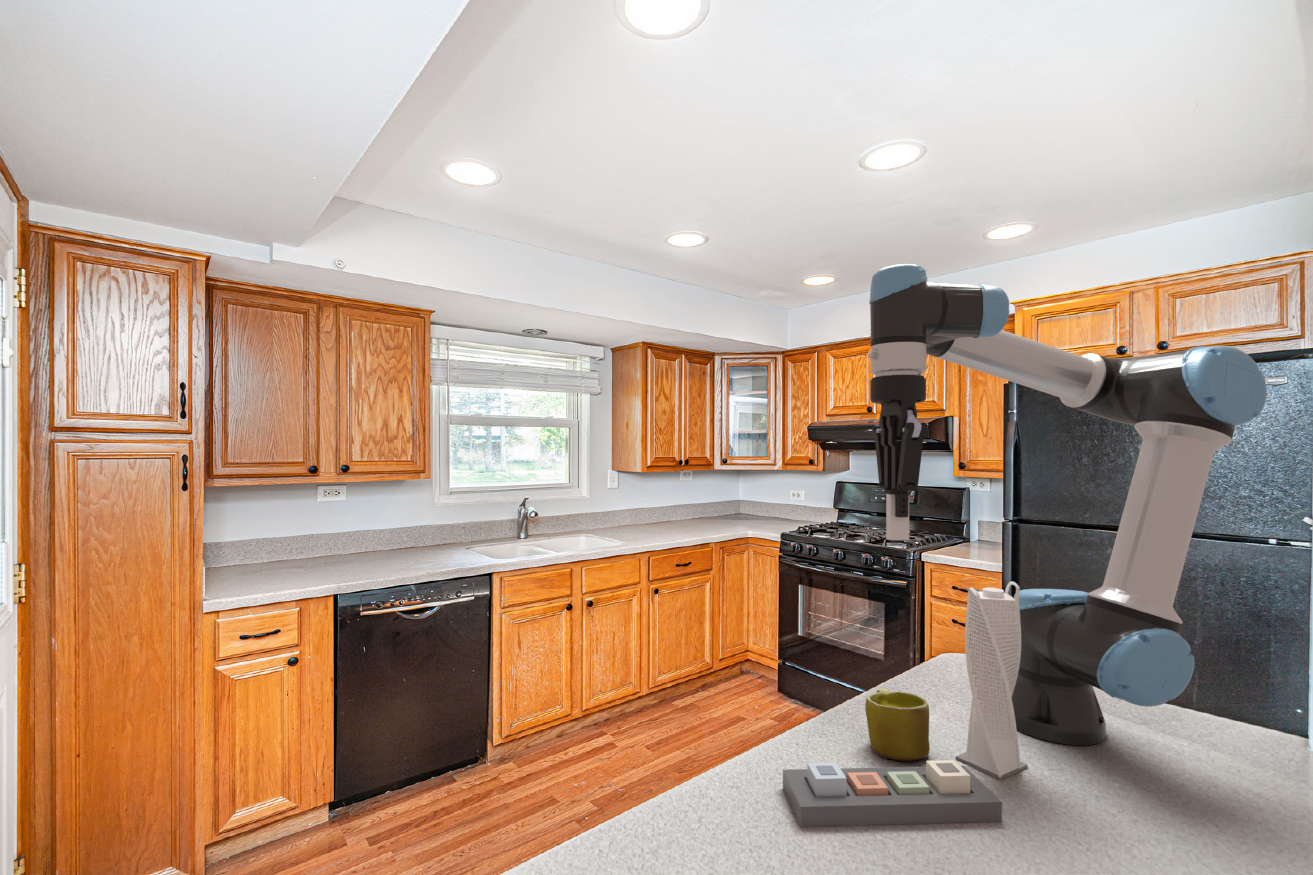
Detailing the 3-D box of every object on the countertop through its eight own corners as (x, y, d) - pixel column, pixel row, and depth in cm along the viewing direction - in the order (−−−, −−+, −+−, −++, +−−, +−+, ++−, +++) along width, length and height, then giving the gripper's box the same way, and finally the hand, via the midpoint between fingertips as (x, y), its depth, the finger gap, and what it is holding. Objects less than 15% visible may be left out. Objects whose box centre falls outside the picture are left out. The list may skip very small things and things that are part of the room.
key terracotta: (875, 793, 86) (875, 771, 86) (888, 810, 82) (888, 787, 82) (847, 794, 86) (847, 771, 86) (857, 811, 82) (857, 787, 82)
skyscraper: (1037, 771, 93) (1037, 580, 93) (1006, 787, 89) (1005, 587, 89) (982, 747, 100) (982, 570, 100) (951, 760, 96) (951, 576, 96)
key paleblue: (836, 784, 86) (836, 761, 86) (846, 801, 82) (846, 777, 82) (807, 785, 86) (807, 762, 86) (816, 802, 82) (816, 778, 82)
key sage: (915, 792, 87) (915, 770, 87) (929, 809, 83) (929, 786, 83) (886, 793, 86) (886, 770, 86) (899, 810, 82) (899, 786, 82)
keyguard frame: (964, 783, 89) (964, 765, 89) (1002, 821, 80) (1002, 801, 80) (782, 787, 88) (782, 769, 88) (800, 826, 79) (800, 806, 79)
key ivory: (954, 781, 87) (954, 759, 87) (970, 798, 83) (970, 774, 83) (926, 782, 87) (926, 759, 87) (940, 799, 83) (940, 775, 83)
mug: (950, 760, 92) (925, 689, 95) (880, 775, 94) (857, 705, 97) (936, 739, 104) (914, 676, 106) (874, 752, 106) (854, 691, 108)
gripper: (855, 379, 97) (855, 532, 97) (891, 370, 84) (891, 547, 84) (903, 380, 98) (903, 532, 97) (946, 370, 85) (946, 546, 84)
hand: (897, 539), depth 91 cm, fingers closed
